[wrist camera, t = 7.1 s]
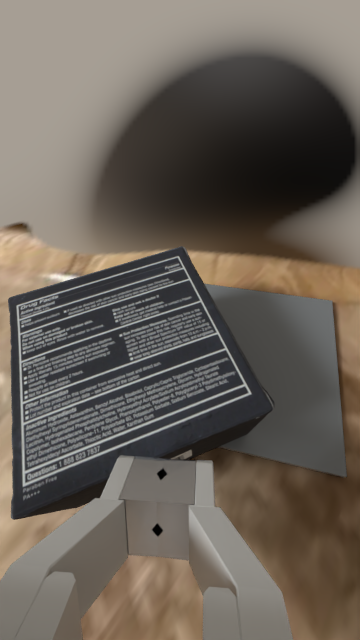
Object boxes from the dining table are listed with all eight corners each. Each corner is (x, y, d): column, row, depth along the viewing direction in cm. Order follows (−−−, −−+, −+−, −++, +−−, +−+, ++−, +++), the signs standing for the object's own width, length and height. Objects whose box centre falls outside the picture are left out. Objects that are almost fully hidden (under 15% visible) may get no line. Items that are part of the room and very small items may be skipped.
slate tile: (342, 477, 15) (346, 477, 14) (55, 407, 18) (52, 405, 17) (329, 304, 21) (332, 300, 20) (117, 275, 24) (115, 271, 24)
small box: (251, 435, 16) (188, 303, 21) (282, 410, 10) (187, 239, 16) (76, 509, 14) (56, 346, 20) (2, 525, 9) (2, 292, 14)
